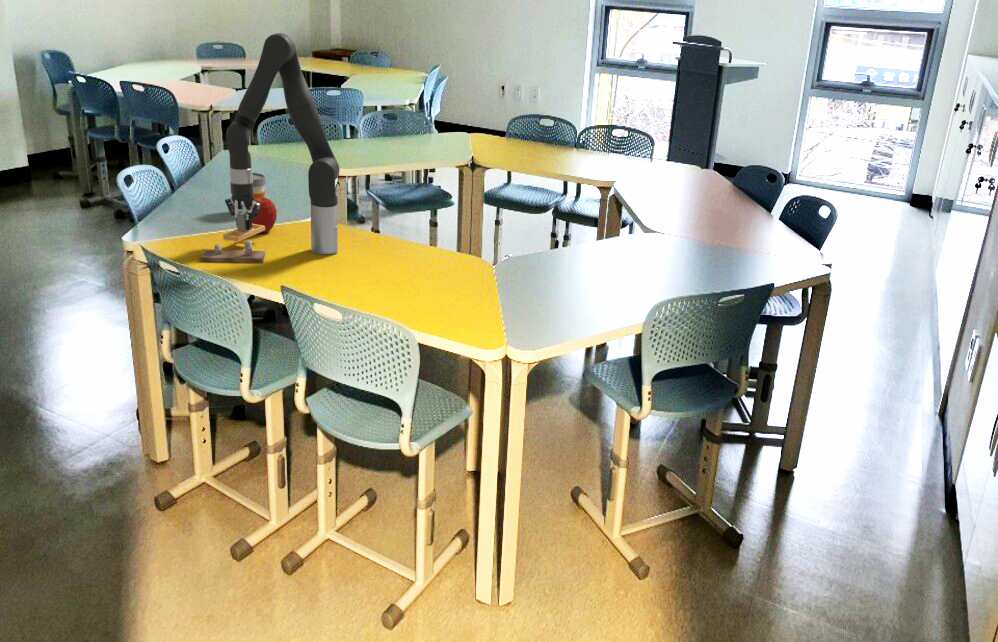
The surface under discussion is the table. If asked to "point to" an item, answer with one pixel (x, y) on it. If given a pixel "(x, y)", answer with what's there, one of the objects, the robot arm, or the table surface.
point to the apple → (265, 214)
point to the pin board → (233, 255)
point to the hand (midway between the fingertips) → (244, 228)
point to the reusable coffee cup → (258, 185)
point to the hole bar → (243, 229)
